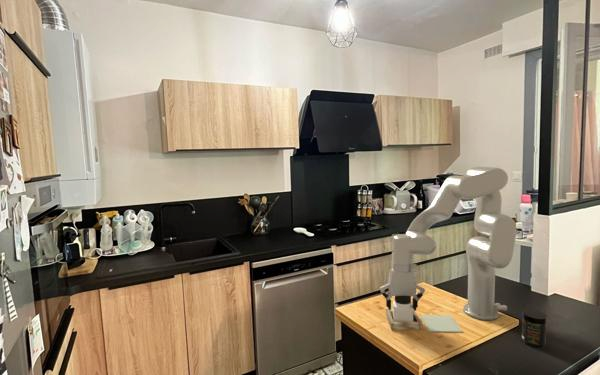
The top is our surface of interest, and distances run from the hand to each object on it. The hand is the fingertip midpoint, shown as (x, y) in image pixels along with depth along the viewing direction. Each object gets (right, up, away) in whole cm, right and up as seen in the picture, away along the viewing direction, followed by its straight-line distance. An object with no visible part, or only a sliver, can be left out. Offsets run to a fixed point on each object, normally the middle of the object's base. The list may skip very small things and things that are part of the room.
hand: (401, 308), depth 127 cm
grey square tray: (+1, -5, +1) cm, 6 cm away
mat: (+14, -5, -2) cm, 16 cm away
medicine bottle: (+1, -6, +1) cm, 6 cm away
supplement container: (+40, -6, -16) cm, 44 cm away
